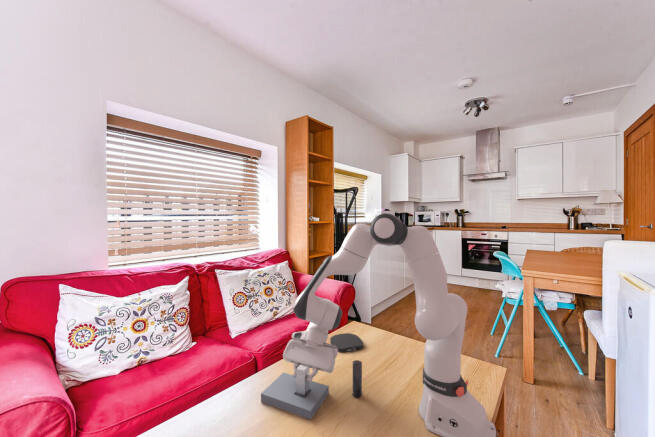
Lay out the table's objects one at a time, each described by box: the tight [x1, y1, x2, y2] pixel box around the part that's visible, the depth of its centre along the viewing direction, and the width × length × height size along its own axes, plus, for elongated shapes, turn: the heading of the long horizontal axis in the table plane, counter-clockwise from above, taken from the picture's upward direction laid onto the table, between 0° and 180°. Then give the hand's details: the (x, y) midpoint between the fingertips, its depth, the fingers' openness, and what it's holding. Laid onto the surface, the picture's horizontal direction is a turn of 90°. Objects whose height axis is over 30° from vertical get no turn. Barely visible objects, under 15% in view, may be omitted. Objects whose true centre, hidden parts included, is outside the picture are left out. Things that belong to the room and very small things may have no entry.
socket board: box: [260, 372, 330, 421], centre depth 99 cm, size 20×14×3 cm
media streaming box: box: [329, 332, 364, 354], centre depth 139 cm, size 15×15×3 cm
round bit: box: [352, 359, 363, 399], centre depth 101 cm, size 3×3×12 cm
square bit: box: [296, 364, 311, 398], centre depth 98 cm, size 3×3×12 cm
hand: (301, 379), depth 97 cm, fingers open, 4 cm apart
